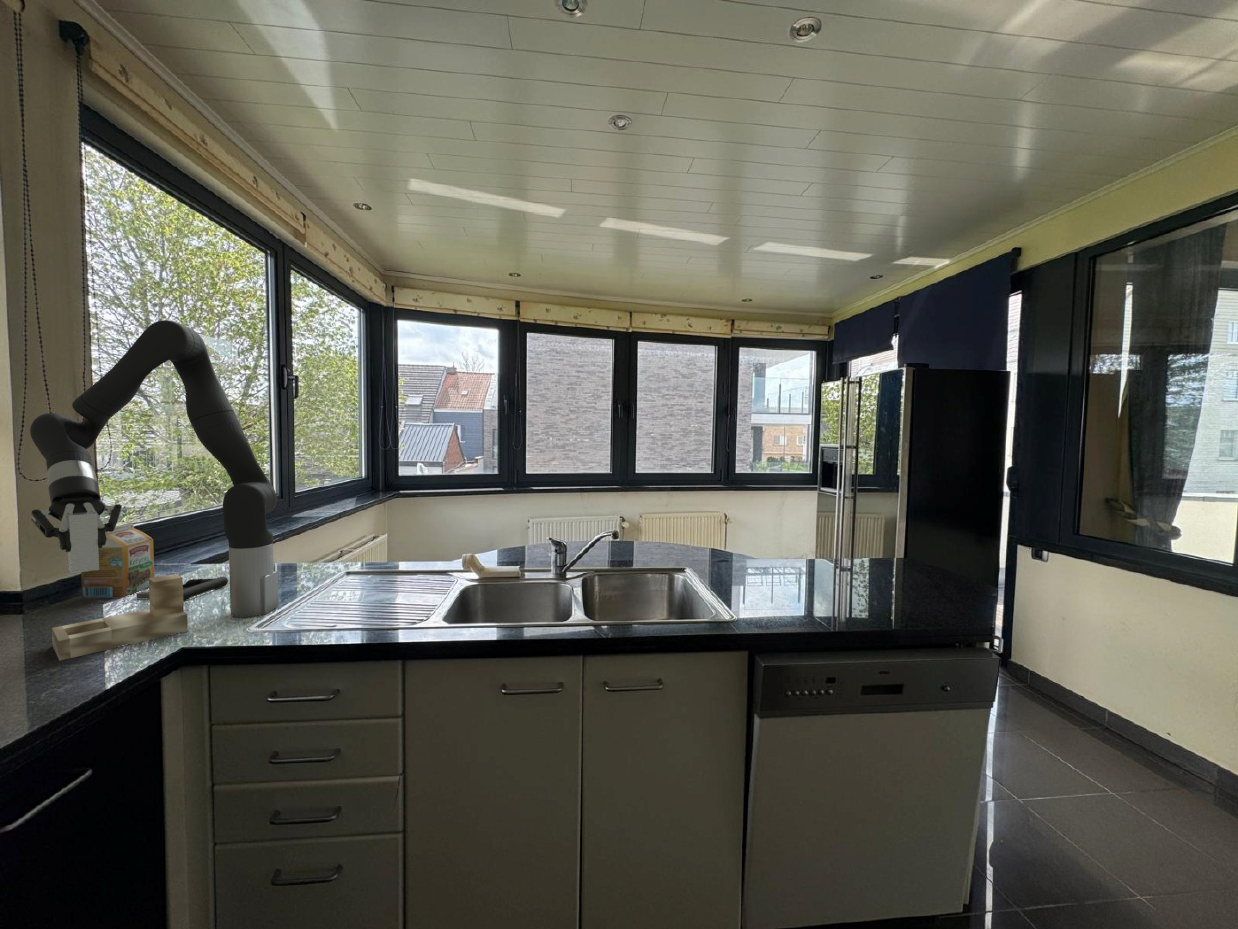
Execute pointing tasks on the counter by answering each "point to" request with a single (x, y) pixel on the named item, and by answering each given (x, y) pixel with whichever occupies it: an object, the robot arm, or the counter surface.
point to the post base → (127, 623)
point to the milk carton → (121, 565)
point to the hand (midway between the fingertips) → (84, 547)
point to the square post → (83, 542)
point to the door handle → (196, 587)
